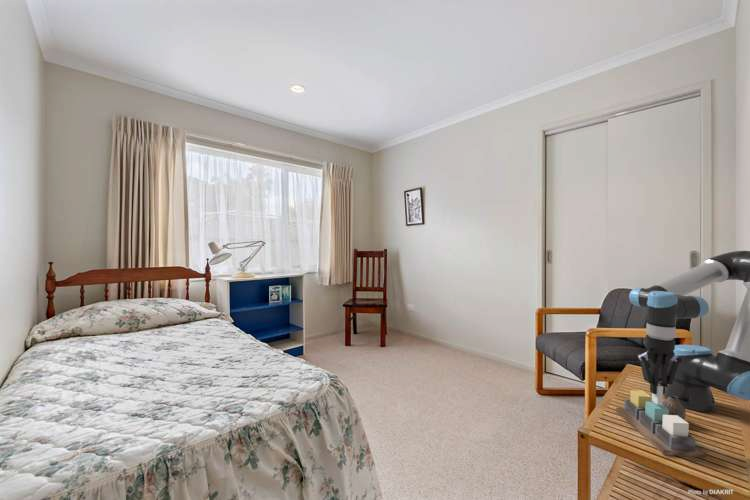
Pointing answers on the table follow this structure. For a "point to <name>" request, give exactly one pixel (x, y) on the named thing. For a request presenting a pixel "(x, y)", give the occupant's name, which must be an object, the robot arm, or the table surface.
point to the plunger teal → (656, 411)
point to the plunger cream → (675, 425)
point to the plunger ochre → (639, 398)
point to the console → (659, 433)
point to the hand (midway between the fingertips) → (656, 402)
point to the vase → (674, 407)
